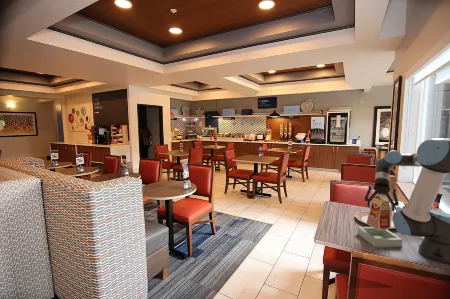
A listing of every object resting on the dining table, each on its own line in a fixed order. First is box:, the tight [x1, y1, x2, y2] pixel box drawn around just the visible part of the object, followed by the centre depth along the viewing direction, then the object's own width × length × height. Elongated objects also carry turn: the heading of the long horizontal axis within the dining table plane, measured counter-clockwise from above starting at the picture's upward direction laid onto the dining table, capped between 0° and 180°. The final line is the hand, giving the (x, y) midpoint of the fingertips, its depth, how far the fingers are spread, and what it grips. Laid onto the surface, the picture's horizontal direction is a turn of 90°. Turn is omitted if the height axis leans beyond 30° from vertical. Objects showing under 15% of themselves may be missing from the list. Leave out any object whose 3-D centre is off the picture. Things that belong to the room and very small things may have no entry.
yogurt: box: [395, 206, 402, 212], centre depth 166 cm, size 12×2×6 cm, turn 177°
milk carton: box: [365, 194, 391, 231], centre depth 133 cm, size 9×9×20 cm
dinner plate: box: [354, 210, 396, 230], centre depth 158 cm, size 27×27×3 cm
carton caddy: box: [357, 226, 404, 249], centre depth 134 cm, size 16×16×5 cm
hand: (380, 213), depth 130 cm, fingers closed on milk carton, 9 cm apart
